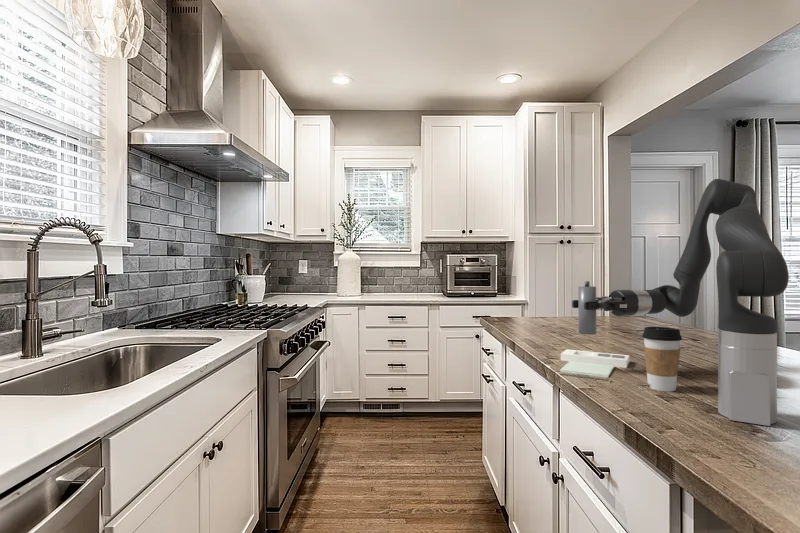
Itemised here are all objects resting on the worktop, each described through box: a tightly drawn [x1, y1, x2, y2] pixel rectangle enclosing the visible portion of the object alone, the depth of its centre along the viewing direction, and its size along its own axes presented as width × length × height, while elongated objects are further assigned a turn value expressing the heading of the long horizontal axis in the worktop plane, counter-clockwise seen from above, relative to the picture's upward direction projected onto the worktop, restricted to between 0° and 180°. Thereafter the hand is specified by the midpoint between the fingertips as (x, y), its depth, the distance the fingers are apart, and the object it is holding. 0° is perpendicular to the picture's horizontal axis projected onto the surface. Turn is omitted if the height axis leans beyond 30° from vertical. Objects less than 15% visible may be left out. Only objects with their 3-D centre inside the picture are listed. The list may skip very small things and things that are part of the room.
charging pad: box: [559, 361, 615, 382], centre depth 122 cm, size 12×12×2 cm
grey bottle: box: [577, 280, 597, 336], centre depth 122 cm, size 5×5×14 cm
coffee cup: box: [642, 326, 683, 393], centre depth 107 cm, size 8×8×15 cm
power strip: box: [560, 348, 630, 369], centre depth 130 cm, size 8×24×3 cm, turn 57°
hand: (579, 305), depth 121 cm, fingers closed on grey bottle, 4 cm apart
